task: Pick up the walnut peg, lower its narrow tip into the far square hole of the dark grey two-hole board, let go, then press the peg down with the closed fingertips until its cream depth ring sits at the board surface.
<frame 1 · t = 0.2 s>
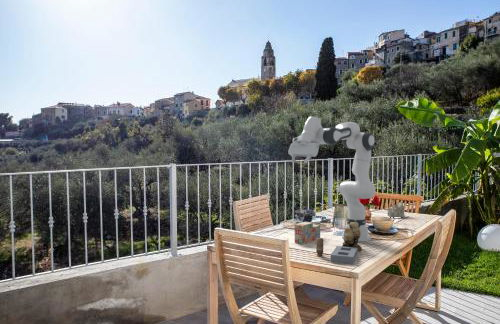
hand: (298, 162, 228), 54 cm above the table, tool tilted 30°, fingers open, 8 cm apart
ceramic cottage: (395, 217, 348), on the table
walnut peg: (319, 255, 229), on the table
beige rough lumpy piece: (351, 249, 242), on the table
stack of blocks: (307, 241, 265), on the table
two-hole board: (344, 258, 223), on the table
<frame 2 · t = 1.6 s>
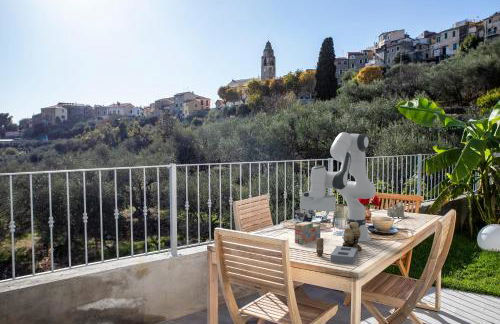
hand: (317, 218, 227), 22 cm above the table, tool pointing down, fingers open, 8 cm apart
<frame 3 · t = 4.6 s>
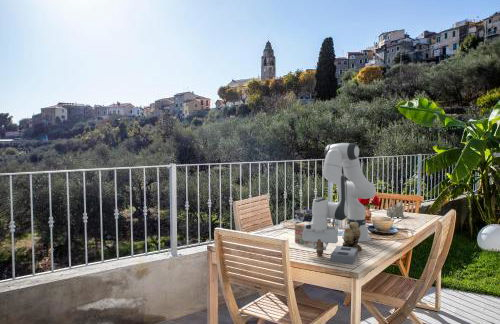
hand: (319, 249, 228), 4 cm above the table, tool pointing down, fingers closed on walnut peg, 4 cm apart
walnut peg: (319, 255, 229), on the table, touching gripper
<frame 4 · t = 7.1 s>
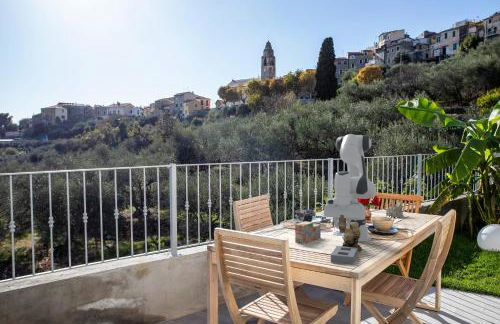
hand: (342, 225, 218), 19 cm above the table, tool pointing down, fingers closed on walnut peg, 4 cm apart
walnut peg: (342, 232, 218), point 16 cm above the table, touching gripper
when the fingers open (6 cm above the table, at t = 9.9 s): walnut peg drops 2 cm, resting in two-hole board.
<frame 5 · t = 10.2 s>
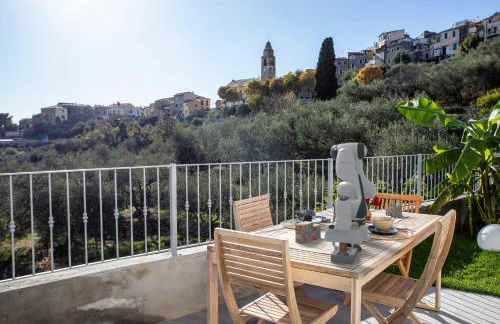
hand: (343, 250, 218), 6 cm above the table, tool pointing down, fingers open, 7 cm apart
walnut peg: (343, 260, 219), resting in two-hole board
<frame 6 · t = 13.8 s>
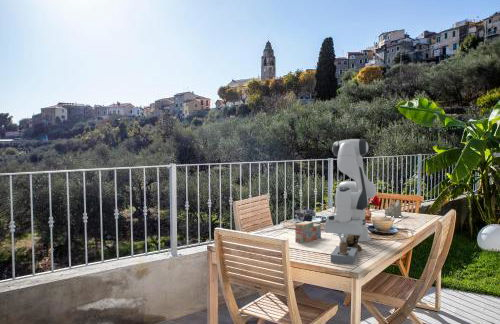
hand: (343, 241, 218), 11 cm above the table, tool pointing down, fingers closed
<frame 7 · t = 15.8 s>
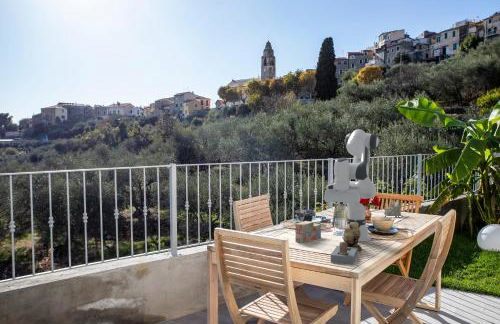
hand: (342, 209, 230), 26 cm above the table, tool pointing down, fingers closed
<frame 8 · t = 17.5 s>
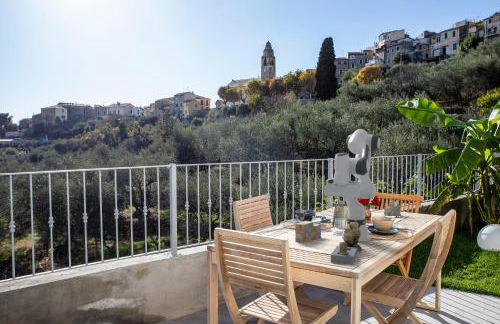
hand: (341, 204, 231), 29 cm above the table, tool pointing down, fingers closed
at the end: walnut peg 0.0 cm from the target spot on the two-hole board, point 0.0 cm above the two-hole board's base; walnut peg tilted 0°; the gripper is holding nothing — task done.
